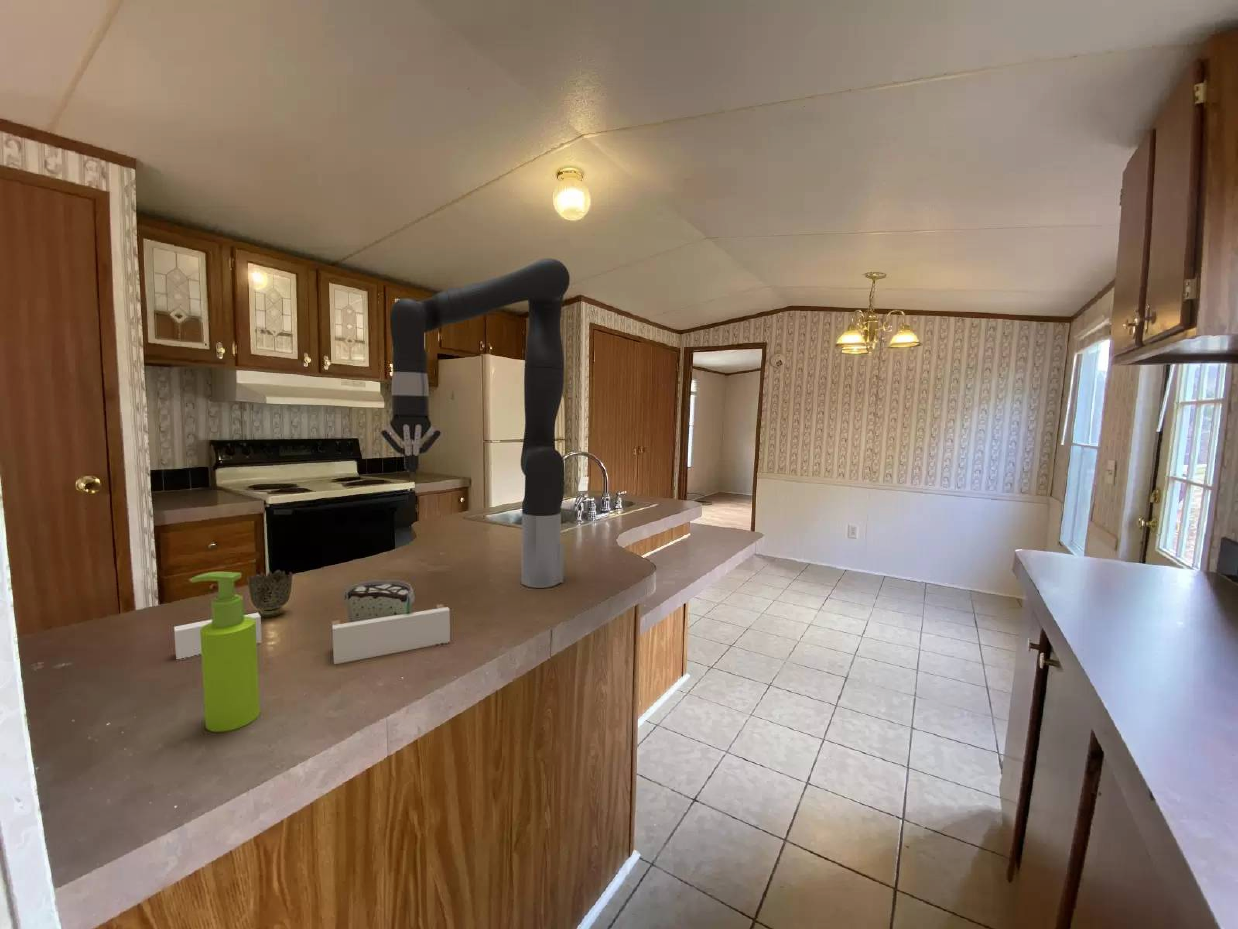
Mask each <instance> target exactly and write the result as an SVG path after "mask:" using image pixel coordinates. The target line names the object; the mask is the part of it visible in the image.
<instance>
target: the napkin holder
mask: <svg viewBox="0 0 1238 929" xmlns="http://www.w3.org/2000/svg"><path fill="white" fill-rule="evenodd" d="M244 616H245V617H252V618H254V619H255V621H256V643H260V644H262V643H263V641H262V640H263V638H262V622H261V621H262V620H261V619H262V617H261V616H262V615H261V614H260V613H259V612H253V613H249V614H244ZM211 622H212V618H211V619H208V620H202V621H198V622H192V623H187V624H182V625H177V626H174V627H173V628H174V630H173V632H174V647H175V658H176V660H177V659H180V660H182V659H181V658H184V659H186V658H185V657H189V658H192V657H191V656H193V657H195V656H194V655H197V656H199V655H198V654H201V638H200V629H201V628H202V627H203V626H205V625H206V624H208V623H211Z"/></svg>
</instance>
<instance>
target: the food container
mask: <svg viewBox="0 0 1238 929" xmlns="http://www.w3.org/2000/svg"><path fill="white" fill-rule="evenodd" d="M343 600H346V602H347V603H346V604H347V610H348V611H347V612H348V618H349V623H351V622H357V621H363V620H369V619H376V618H382V617H388V616H395V615H401V614H407V613H411V612H410V611H411V605H412V603H414V601H415V593H414V589H413V588H412V585H411V584H410V583H408V582H406V581H401V580H396V579H384V580H383V579H380V580H379V579H377V580H370V581H365V582H360V583H356V584H353V585H351V586H349V587H345V591H344V594H343Z"/></svg>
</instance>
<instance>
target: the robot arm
mask: <svg viewBox="0 0 1238 929" xmlns="http://www.w3.org/2000/svg"><path fill="white" fill-rule="evenodd" d="M570 277H571V276H570V272H569V270H568V268H567V267H566V266H565V264H564V263H562V262H561V261H559V260H558V259H557V258H556V259H555V258H551V257H550V258H549V257H547V258H543V259H540V260H538V261H535V262H534V263H531V264H529V265H527V266H524V267H523V268H520V269H518V270H514V271H513V272H510V273H507V274H504V275H502V276H499V277H494V278H491V279H486V280H483V281H479V282H475V283H471V284H466V285H463V286H458V287H454V288H450V289H447V290H443V291H440V292H438V293H435V295H434V296H432V297H430V298H426V299H421V300H418V301H416V300H414V299H412V298H406V297H404V298H400V299H398V300H396V301H395V302H394V303H393V304H392V306H391V308H390V311H389V326H390V334H391V342H392V379H391V389H390V390H391V412H392V413H391V414H392V415H391V420H390V421H389V425H388V426H387V427H386V428H384V429H380V432H379V433H380V435H381V436H382V437H383V438H384V439H385V441H386V442H387V443H388V444H389V445H390V447H391V448H392V449H393V450H394V451H395V452H396V453H398V454H401V455H403V467H404V468H403V469H404V470H405V471H406V473H416V471H417V470H418V469H419V457H420V455H421V454H423V453H427V452H428V451H429V450H430V449H431V447H432V446H433V444H435V442H436V441H437V440H438V438H439V437H440V435H441V434H442V433H441V431H440V430H437V429H436V428H435V427H433V426H432V422H431V420H430V418H429V417H430V414H429V412H430V410H429V405H430V404H429V403H430V402H429V400H430V399H429V381H428V380H429V379H428V355H427V351H426V348H425V333H429V332H431V331H434V330H437V329H439V328H442V327H444V326H447V325H451V324H457V323H461V322H465V321H468V320H473V319H475V318H478V317H481V316H484V315H487V314H489V313H492V312H494V311H497V310H499V309H501V308H504V307H506V306H510V305H513V304H517V303H522V302H527V301H528V302H527V303H528V321H529V322H528V333H527V338H526V345H525V346H526V348H525V354H524V355H525V356H524V368H523V370H524V371H523V372H524V373H523V375H524V376H523V378H524V379H523V387H524V388H523V393H524V394H523V397H524V398H523V399H524V402H523V403H524V433H523V442H522V449H521V453H520V454H521V455H520V467H521V468H520V469H521V471H522V474H523V475H524V478H525V479H524V495H523V496H524V497H523V500H522V503H521V574H520V578H521V584H522V585H524V586H526V587H528V588H529V587H530V588H538V589H540V588H541V589H543V588H550V587H554V586H558V585H559V584H563V582H564V551H565V550H564V544H563V543H562V542H561V536H562V535H561V531H562V530H561V525H562V524H561V516H562V514H561V513H562V504H563V502H564V497H565V496H564V495H565V494H564V492H565V476H566V474H565V473H566V472H565V471H566V470H565V460H564V458H563V456H562V455H561V453H560V451H558V450H557V449H556V432H555V431H556V421H557V417H558V412H559V409H560V406H561V402H562V398H563V394H564V393H563V392H564V381H565V380H564V379H565V378H564V377H565V358H564V357H565V356H564V355H565V354H564V348H563V341H562V335H561V317H562V308H563V300H564V296H565V295H566V293H567V291H568V289H569V286H570V282H571V280H570V279H571V278H570ZM393 432H395V434H396V435H397V437H398V438H400V439H401V443H402V447H401V446H400V445H399V444H398V443H397V441H396V439H394V438H393V436H394V433H393ZM426 434H427V435H428V437H427V439H425V441H424V442H423V443H422V445H421V439H423V438H424V437H425V435H426Z"/></svg>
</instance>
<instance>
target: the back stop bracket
mask: <svg viewBox="0 0 1238 929" xmlns="http://www.w3.org/2000/svg"><path fill="white" fill-rule="evenodd" d="M450 616H451V612H450V608H449V607H448V606H447V607H445V606H444V604H443V603H441V604H440V603H439V604H435V608H433V609H426V610H420V611H414V612H410V613H407V614H401V615H395V616H388V617H382V618H376V619H369V620H363V621H357V622H351V623H350V622H345V623H341V621H340V619H338V620H332V621H331V640H332V641H331V642H332V644H331V645H332V656H333V665H339V664H345V663H348V662H354V661H359V660H364V659H369V658H375V657H380V656H385V655H392V654H396V653H401V652H406V651H412V650H416V649H422V648H427V647H433V646H436V644H438V645H442V644H441V643H443V644H448V642H449V643H451V631H450V630H451V622H450V621H451V617H450Z"/></svg>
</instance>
